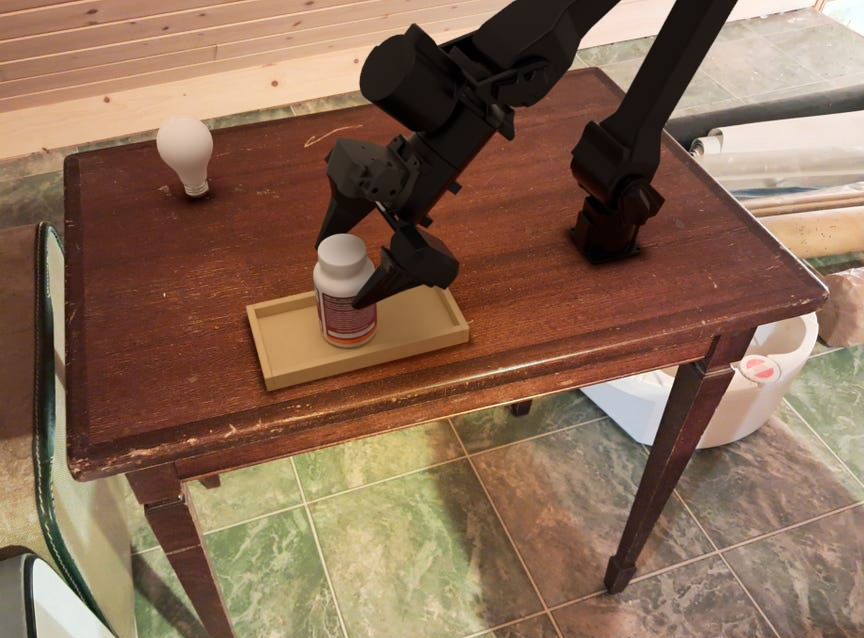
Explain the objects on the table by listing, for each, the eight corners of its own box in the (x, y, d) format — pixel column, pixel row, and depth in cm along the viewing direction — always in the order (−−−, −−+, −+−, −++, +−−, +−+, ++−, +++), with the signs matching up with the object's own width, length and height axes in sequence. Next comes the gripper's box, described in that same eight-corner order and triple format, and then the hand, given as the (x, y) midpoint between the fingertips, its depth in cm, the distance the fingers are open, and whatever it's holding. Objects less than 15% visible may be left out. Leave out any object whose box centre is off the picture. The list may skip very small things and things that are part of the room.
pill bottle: (390, 328, 77) (388, 249, 68) (346, 359, 74) (339, 281, 66) (350, 299, 80) (345, 220, 71) (307, 328, 77) (296, 249, 69)
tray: (434, 276, 83) (435, 262, 81) (468, 341, 76) (470, 328, 75) (248, 319, 79) (245, 305, 77) (267, 391, 72) (264, 378, 71)
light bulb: (228, 180, 96) (211, 103, 87) (219, 211, 91) (201, 134, 83) (178, 180, 96) (157, 104, 87) (167, 211, 92) (144, 134, 83)
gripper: (336, 60, 65) (241, 194, 71) (433, 168, 54) (310, 318, 60) (413, 117, 73) (322, 234, 79) (511, 222, 62) (397, 349, 68)
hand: (335, 278), depth 71 cm, fingers open, 9 cm apart
